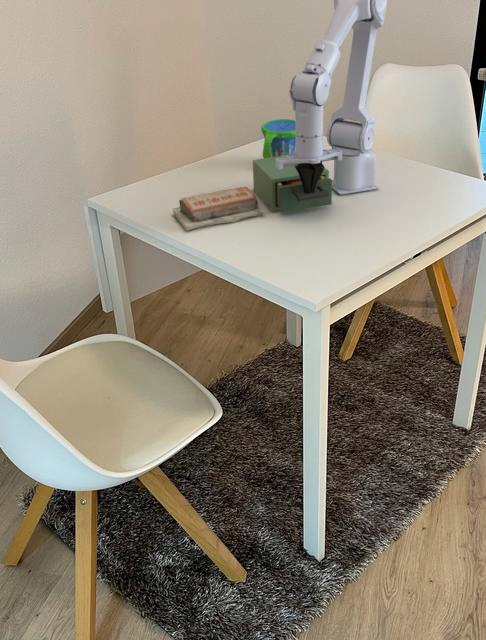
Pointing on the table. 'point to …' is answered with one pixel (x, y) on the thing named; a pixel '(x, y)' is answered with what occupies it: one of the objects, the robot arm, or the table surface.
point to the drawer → (302, 195)
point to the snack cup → (279, 138)
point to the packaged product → (217, 208)
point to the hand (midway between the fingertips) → (308, 195)
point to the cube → (293, 181)
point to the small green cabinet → (272, 179)
